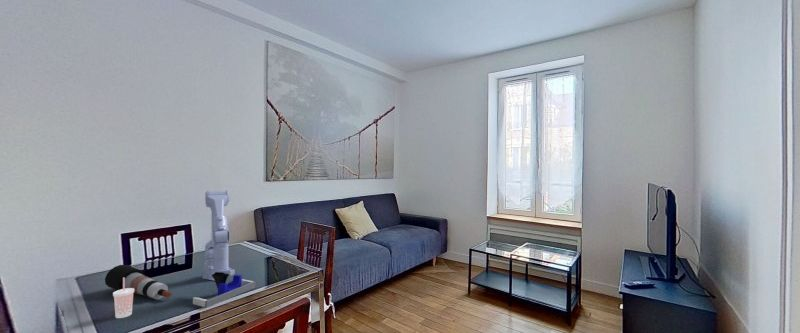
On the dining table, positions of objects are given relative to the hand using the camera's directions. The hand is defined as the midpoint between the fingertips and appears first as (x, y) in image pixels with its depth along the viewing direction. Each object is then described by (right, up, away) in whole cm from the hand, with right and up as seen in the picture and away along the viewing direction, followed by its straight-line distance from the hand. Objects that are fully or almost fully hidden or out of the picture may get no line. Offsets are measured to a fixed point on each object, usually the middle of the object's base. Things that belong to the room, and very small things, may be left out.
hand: (220, 289), depth 136 cm
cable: (-34, -2, 0) cm, 34 cm away
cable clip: (+3, -2, +1) cm, 3 cm away
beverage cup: (-25, -2, -19) cm, 32 cm away
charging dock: (+3, -2, -1) cm, 4 cm away
